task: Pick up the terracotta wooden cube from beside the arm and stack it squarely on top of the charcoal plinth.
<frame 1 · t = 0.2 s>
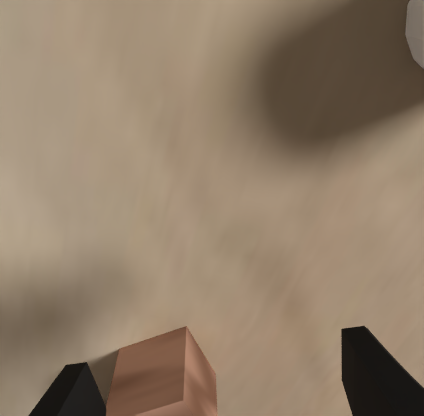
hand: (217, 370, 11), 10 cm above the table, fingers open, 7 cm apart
terracotta cube: (168, 360, 25), on the table
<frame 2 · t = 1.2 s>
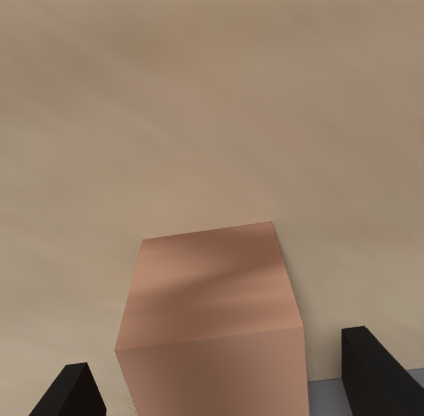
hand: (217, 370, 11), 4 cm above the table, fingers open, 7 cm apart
terracotta cube: (216, 281, 15), on the table
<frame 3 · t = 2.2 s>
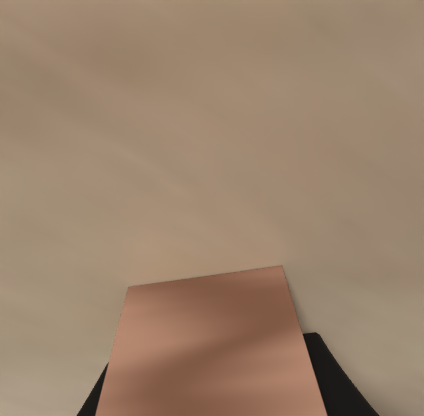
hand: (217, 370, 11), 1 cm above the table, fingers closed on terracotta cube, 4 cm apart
terracotta cube: (215, 333, 13), on the table, touching gripper
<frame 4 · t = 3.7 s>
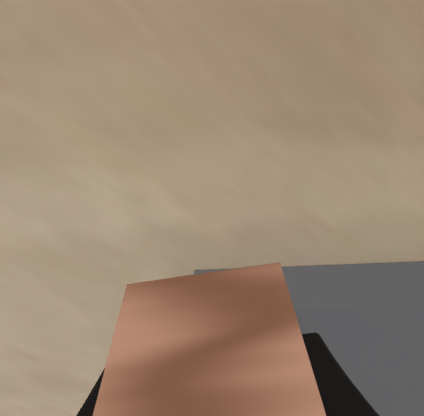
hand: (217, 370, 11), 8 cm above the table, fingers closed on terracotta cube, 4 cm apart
terracotta cube: (214, 330, 13), point 7 cm above the table, touching gripper
charcoal plinth: (304, 352, 23), on the table
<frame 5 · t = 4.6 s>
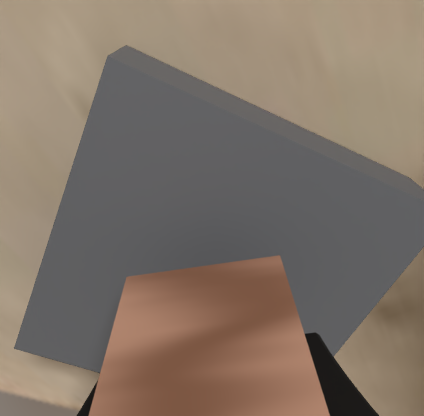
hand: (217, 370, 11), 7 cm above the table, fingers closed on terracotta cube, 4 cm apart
terracotta cube: (214, 323, 13), point 5 cm above the table, touching gripper
charcoal plinth: (212, 242, 17), on the table
when the fingers open (6 cm above the table, at t = 5.2 s): terracotta cube drops 1 cm, resting on charcoal plinth.
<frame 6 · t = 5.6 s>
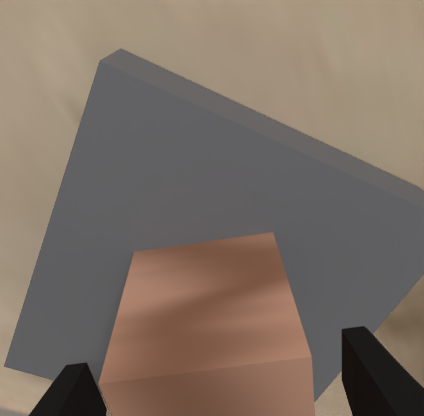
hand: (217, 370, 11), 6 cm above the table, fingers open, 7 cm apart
terracotta cube: (213, 296, 14), point 3 cm above the table, touching charcoal plinth
charcoal plinth: (212, 253, 17), on the table
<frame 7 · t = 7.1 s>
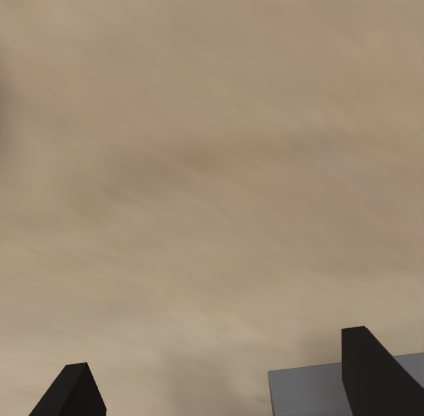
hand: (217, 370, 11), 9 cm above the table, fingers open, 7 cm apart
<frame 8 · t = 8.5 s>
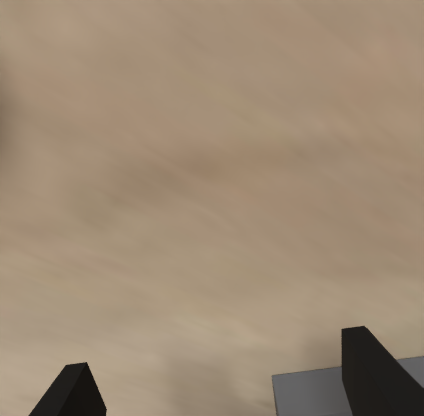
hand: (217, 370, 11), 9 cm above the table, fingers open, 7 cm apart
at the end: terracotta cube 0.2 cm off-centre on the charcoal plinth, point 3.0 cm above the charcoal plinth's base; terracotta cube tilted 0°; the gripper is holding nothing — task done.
